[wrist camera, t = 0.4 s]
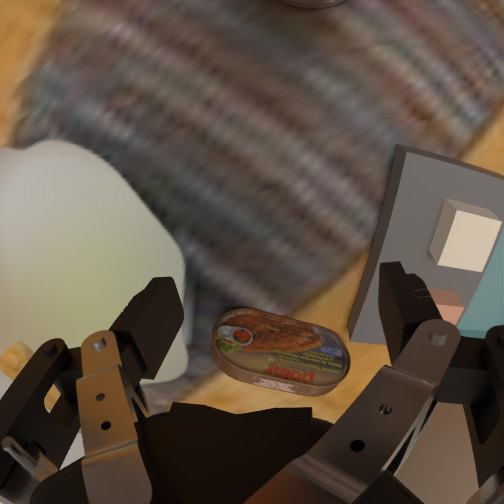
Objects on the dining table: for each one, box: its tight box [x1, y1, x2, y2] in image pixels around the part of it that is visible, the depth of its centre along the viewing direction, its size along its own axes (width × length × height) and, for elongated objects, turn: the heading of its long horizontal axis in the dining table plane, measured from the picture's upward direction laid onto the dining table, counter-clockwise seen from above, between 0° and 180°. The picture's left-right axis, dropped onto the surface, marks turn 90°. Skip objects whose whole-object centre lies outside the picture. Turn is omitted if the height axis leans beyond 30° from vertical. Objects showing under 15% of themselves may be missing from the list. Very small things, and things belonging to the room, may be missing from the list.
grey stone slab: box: [348, 144, 504, 345], centre depth 28 cm, size 20×12×3 cm, turn 175°
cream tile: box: [429, 198, 502, 272], centre depth 23 cm, size 5×5×2 cm
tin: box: [211, 308, 351, 396], centre depth 33 cm, size 15×3×8 cm, turn 76°
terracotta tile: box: [428, 288, 465, 325], centre depth 28 cm, size 5×5×2 cm
